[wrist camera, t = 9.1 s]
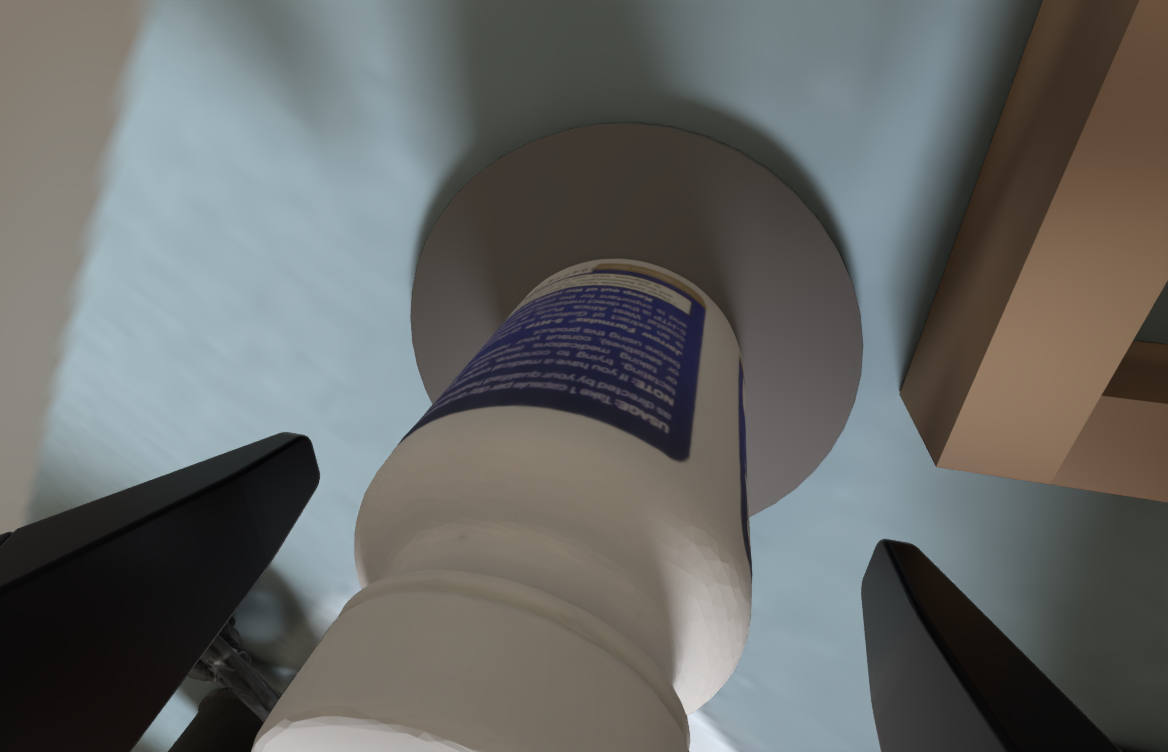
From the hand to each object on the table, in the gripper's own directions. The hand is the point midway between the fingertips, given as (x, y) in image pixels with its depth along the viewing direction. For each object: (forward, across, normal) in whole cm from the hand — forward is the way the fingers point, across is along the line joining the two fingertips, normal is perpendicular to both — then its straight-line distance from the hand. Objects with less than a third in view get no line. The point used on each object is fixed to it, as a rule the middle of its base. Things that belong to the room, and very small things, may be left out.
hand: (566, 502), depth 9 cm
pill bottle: (+5, 0, 0) cm, 5 cm away
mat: (+5, 0, 0) cm, 5 cm away
